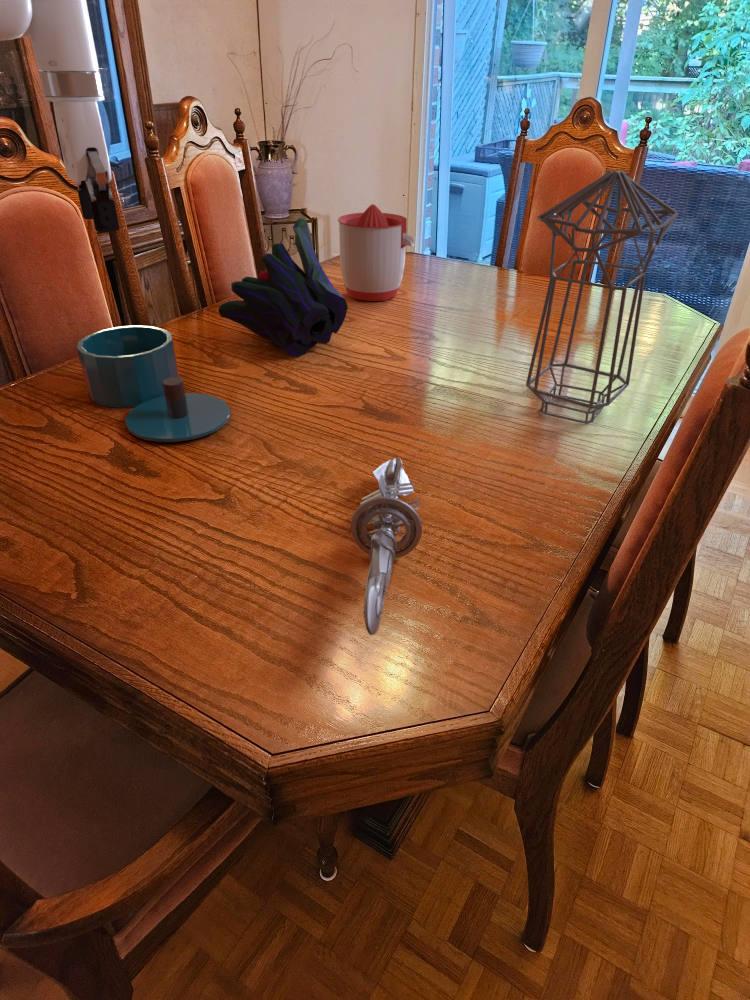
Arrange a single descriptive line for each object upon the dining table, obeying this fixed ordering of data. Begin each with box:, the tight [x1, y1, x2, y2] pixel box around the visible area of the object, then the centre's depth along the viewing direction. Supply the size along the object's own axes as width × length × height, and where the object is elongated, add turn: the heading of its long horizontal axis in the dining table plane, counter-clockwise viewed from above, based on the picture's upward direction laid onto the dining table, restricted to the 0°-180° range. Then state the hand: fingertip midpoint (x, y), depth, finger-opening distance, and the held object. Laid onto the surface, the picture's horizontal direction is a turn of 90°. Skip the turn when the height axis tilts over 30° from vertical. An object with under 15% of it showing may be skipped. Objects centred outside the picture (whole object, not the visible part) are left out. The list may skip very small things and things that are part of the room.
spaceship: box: [350, 457, 423, 636], centre depth 73 cm, size 8×35×8 cm
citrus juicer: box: [337, 203, 416, 302], centre depth 152 cm, size 16×17×20 cm
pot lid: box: [124, 377, 231, 443], centre depth 101 cm, size 16×16×7 cm
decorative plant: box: [218, 217, 349, 358], centre depth 130 cm, size 21×26×30 cm
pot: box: [76, 325, 180, 409], centre depth 110 cm, size 15×15×8 cm
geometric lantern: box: [525, 169, 679, 425], centre depth 97 cm, size 16×16×35 cm
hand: (101, 224), depth 98 cm, fingers open, 9 cm apart
